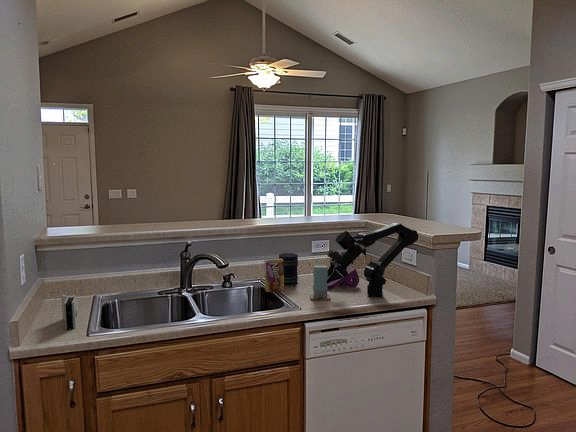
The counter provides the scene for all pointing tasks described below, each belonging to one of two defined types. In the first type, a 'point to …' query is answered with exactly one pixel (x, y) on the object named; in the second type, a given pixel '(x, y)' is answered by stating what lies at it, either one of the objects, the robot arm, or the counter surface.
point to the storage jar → (290, 268)
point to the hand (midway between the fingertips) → (325, 279)
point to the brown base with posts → (325, 297)
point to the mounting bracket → (346, 279)
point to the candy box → (274, 275)
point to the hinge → (70, 311)
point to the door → (320, 279)
